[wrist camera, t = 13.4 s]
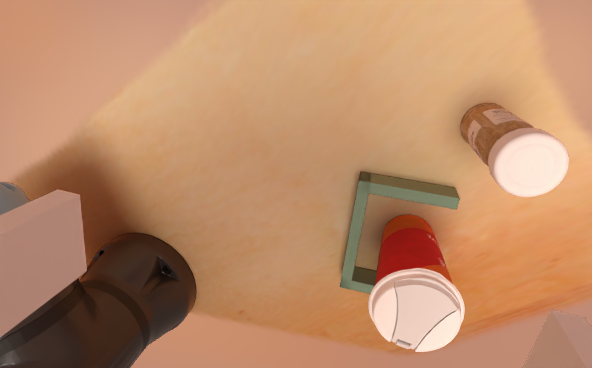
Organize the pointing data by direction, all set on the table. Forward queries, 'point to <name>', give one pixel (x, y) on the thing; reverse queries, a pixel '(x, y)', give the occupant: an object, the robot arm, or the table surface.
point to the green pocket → (394, 189)
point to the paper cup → (414, 288)
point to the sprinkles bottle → (515, 150)
